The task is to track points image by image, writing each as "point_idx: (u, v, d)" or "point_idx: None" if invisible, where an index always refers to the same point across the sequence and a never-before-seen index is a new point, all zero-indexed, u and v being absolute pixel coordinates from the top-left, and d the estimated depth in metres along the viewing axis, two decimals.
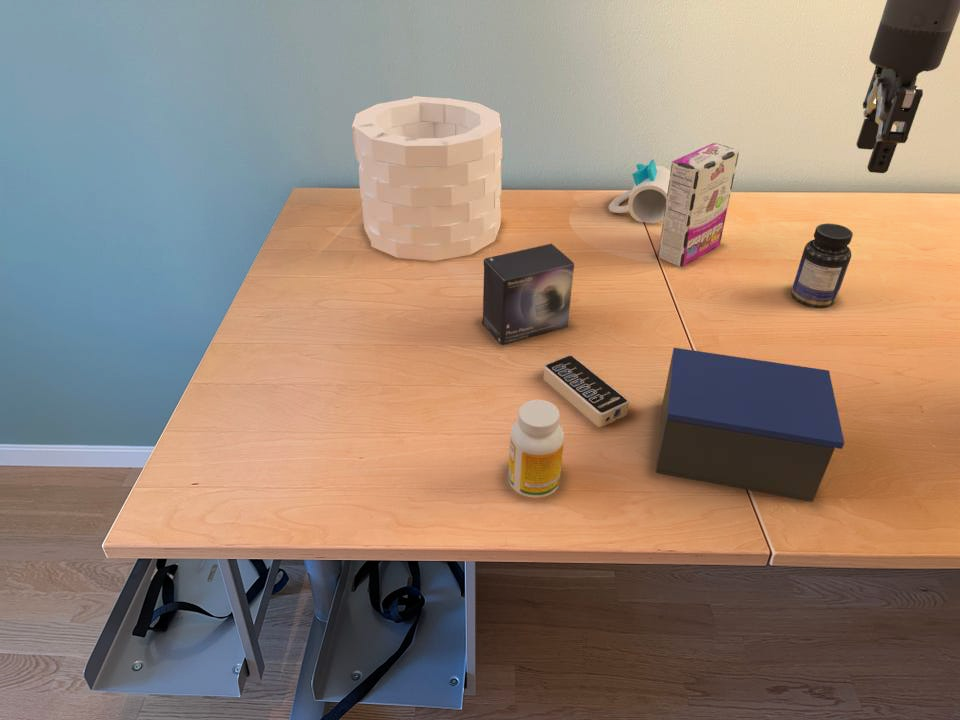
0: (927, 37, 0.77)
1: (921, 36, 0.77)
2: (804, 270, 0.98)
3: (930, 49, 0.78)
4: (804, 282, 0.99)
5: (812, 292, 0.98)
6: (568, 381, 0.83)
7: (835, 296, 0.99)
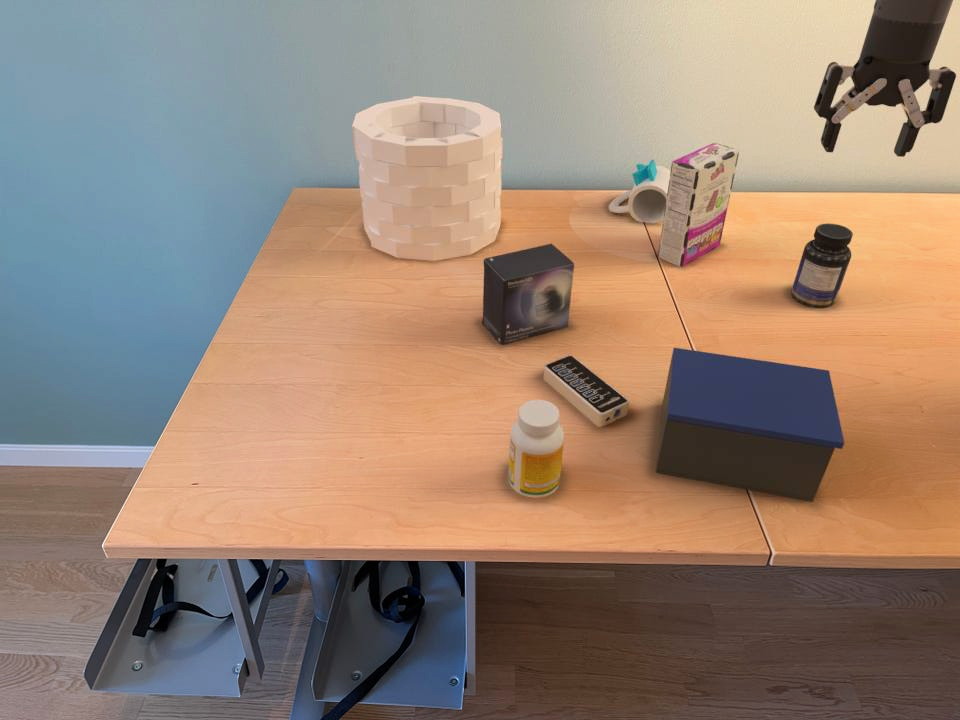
0: (874, 21, 0.80)
1: (872, 20, 0.80)
2: (804, 270, 0.98)
3: (874, 35, 0.80)
4: (804, 282, 0.99)
5: (812, 292, 0.98)
6: (568, 381, 0.83)
7: (835, 296, 0.99)
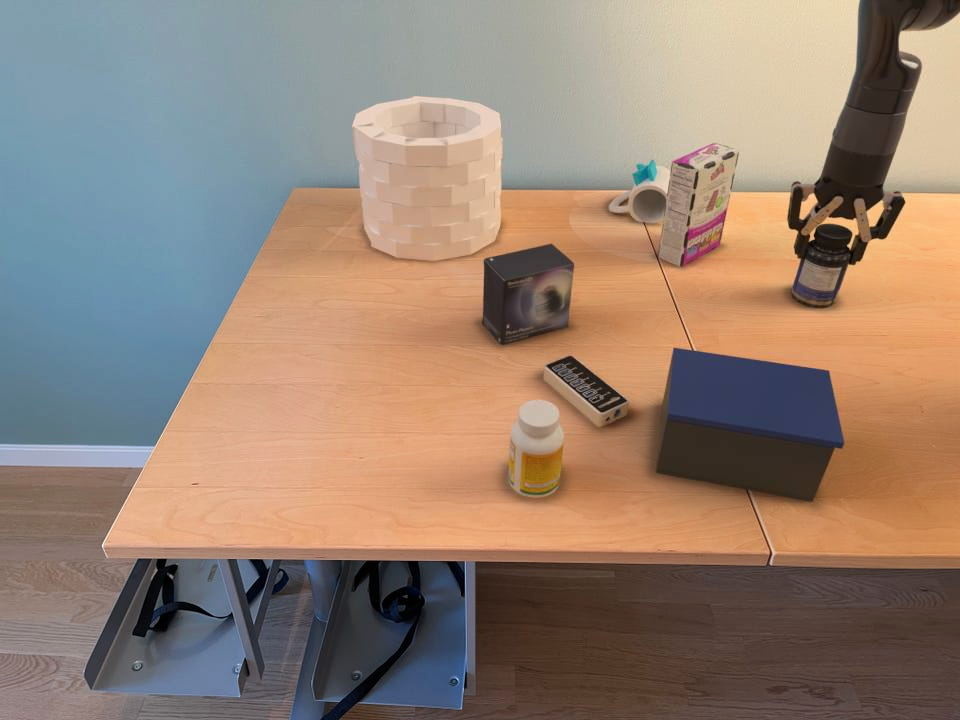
0: (831, 147, 0.89)
1: (830, 145, 0.89)
2: (804, 270, 0.98)
3: (831, 159, 0.89)
4: (804, 282, 0.99)
5: (812, 292, 0.98)
6: (568, 381, 0.83)
7: (835, 296, 0.99)
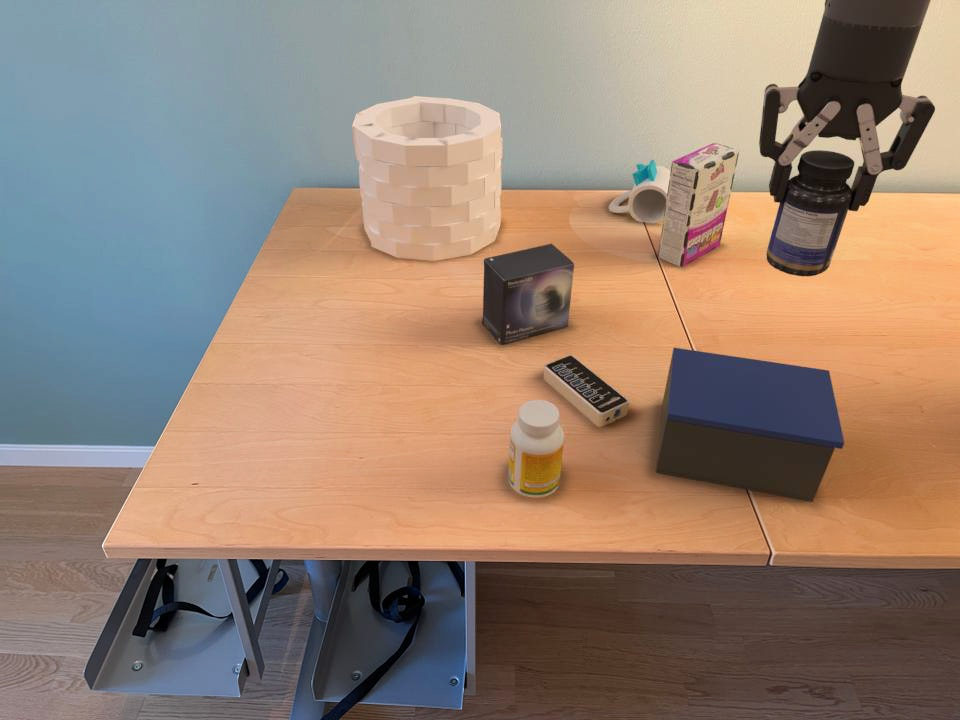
0: (822, 24, 0.58)
1: (821, 21, 0.59)
2: (784, 219, 0.67)
3: (822, 42, 0.58)
4: (783, 237, 0.68)
5: (795, 251, 0.68)
6: (568, 381, 0.83)
7: (829, 258, 0.68)
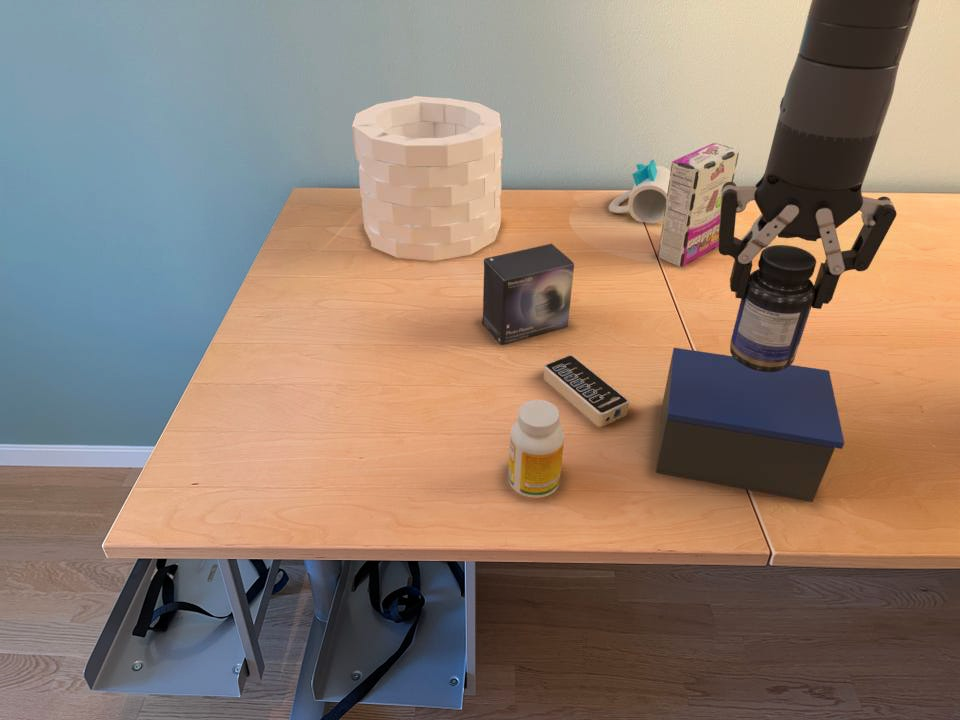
0: (778, 128, 0.56)
1: (777, 124, 0.56)
2: (745, 316, 0.65)
3: (777, 146, 0.56)
4: (745, 333, 0.66)
5: (757, 348, 0.65)
6: (568, 381, 0.83)
7: (793, 354, 0.66)
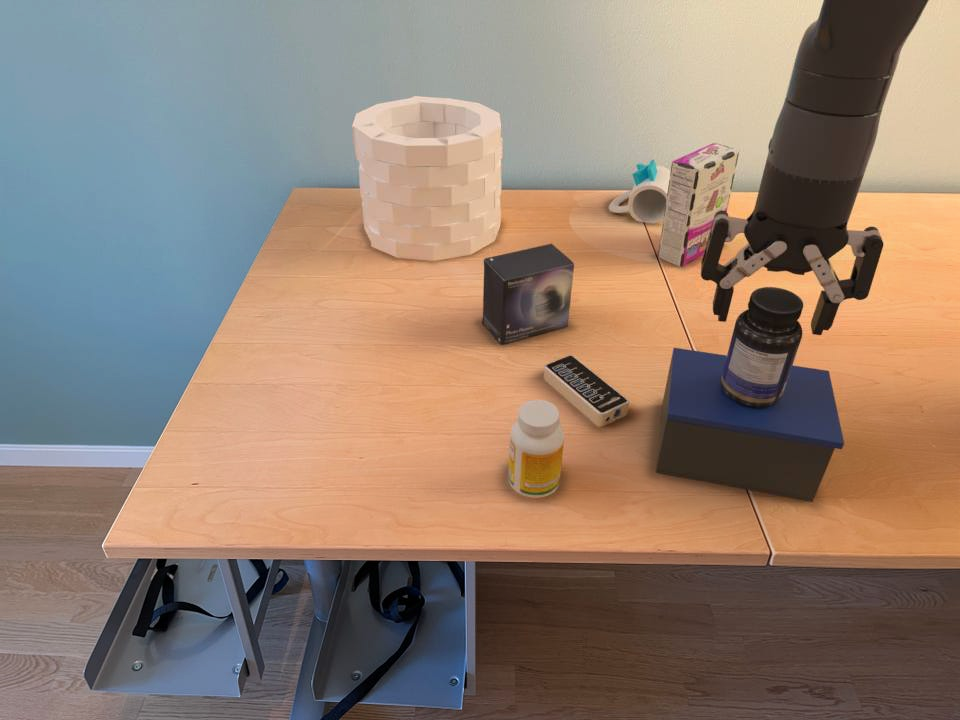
0: (766, 168, 0.58)
1: (765, 164, 0.58)
2: (735, 354, 0.68)
3: (766, 186, 0.58)
4: (736, 370, 0.68)
5: (747, 385, 0.68)
6: (568, 381, 0.83)
7: (781, 390, 0.69)
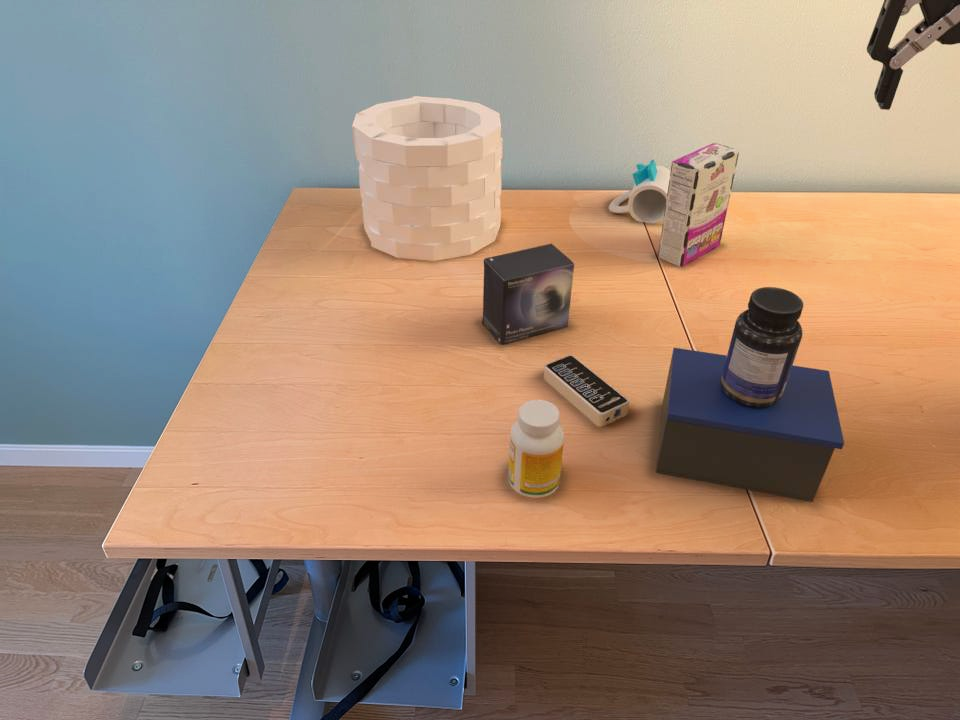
0: None
1: None
2: (735, 354, 0.68)
3: None
4: (735, 370, 0.68)
5: (747, 385, 0.68)
6: (568, 381, 0.83)
7: (781, 390, 0.69)
